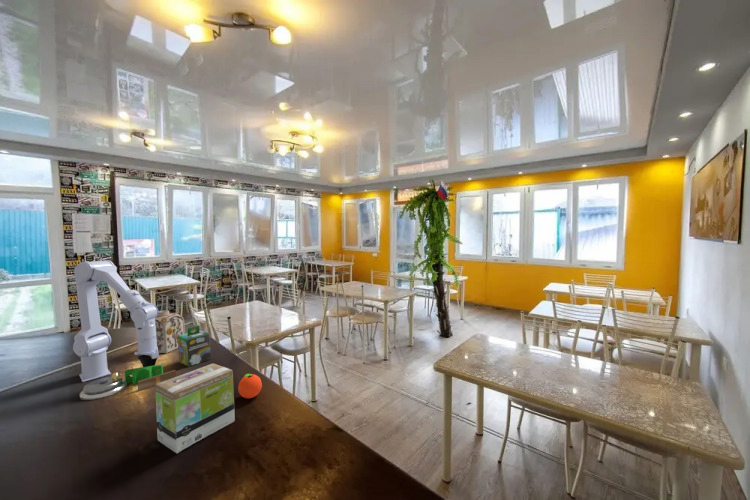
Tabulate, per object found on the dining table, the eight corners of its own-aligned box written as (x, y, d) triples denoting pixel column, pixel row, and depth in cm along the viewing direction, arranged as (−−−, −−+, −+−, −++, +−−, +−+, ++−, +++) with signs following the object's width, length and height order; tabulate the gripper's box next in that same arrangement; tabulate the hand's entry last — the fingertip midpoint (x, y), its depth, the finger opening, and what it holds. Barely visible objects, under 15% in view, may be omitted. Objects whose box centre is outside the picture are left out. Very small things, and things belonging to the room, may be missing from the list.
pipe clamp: (122, 387, 107) (121, 374, 107) (127, 382, 111) (125, 369, 110) (160, 380, 111) (159, 368, 111) (163, 375, 115) (162, 363, 114)
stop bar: (138, 390, 104) (137, 381, 104) (175, 377, 112) (174, 369, 112) (139, 391, 103) (138, 382, 103) (176, 378, 112) (175, 370, 112)
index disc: (74, 395, 99) (73, 381, 99) (101, 380, 109) (100, 368, 109) (106, 393, 100) (105, 380, 100) (130, 379, 110) (129, 367, 110)
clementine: (233, 396, 97) (232, 374, 97) (254, 388, 102) (253, 367, 102) (244, 405, 92) (243, 382, 91) (266, 396, 97) (265, 373, 96)
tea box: (177, 455, 71) (173, 393, 71) (157, 441, 77) (152, 383, 76) (236, 421, 84) (233, 368, 83) (215, 411, 89) (212, 361, 89)
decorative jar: (143, 353, 139) (140, 314, 138) (165, 344, 151) (162, 308, 150) (166, 354, 137) (164, 314, 136) (186, 344, 149) (184, 308, 148)
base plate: (77, 392, 104) (77, 389, 104) (122, 379, 113) (122, 376, 113) (82, 404, 96) (81, 401, 96) (130, 388, 105) (130, 386, 105)
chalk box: (201, 355, 134) (199, 321, 134) (211, 359, 129) (209, 324, 128) (178, 362, 127) (175, 327, 126) (188, 367, 121) (185, 330, 121)
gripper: (127, 337, 115) (129, 373, 116) (141, 344, 107) (144, 382, 107) (149, 332, 121) (151, 366, 122) (164, 338, 112) (166, 374, 113)
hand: (149, 373), depth 115 cm, fingers closed
